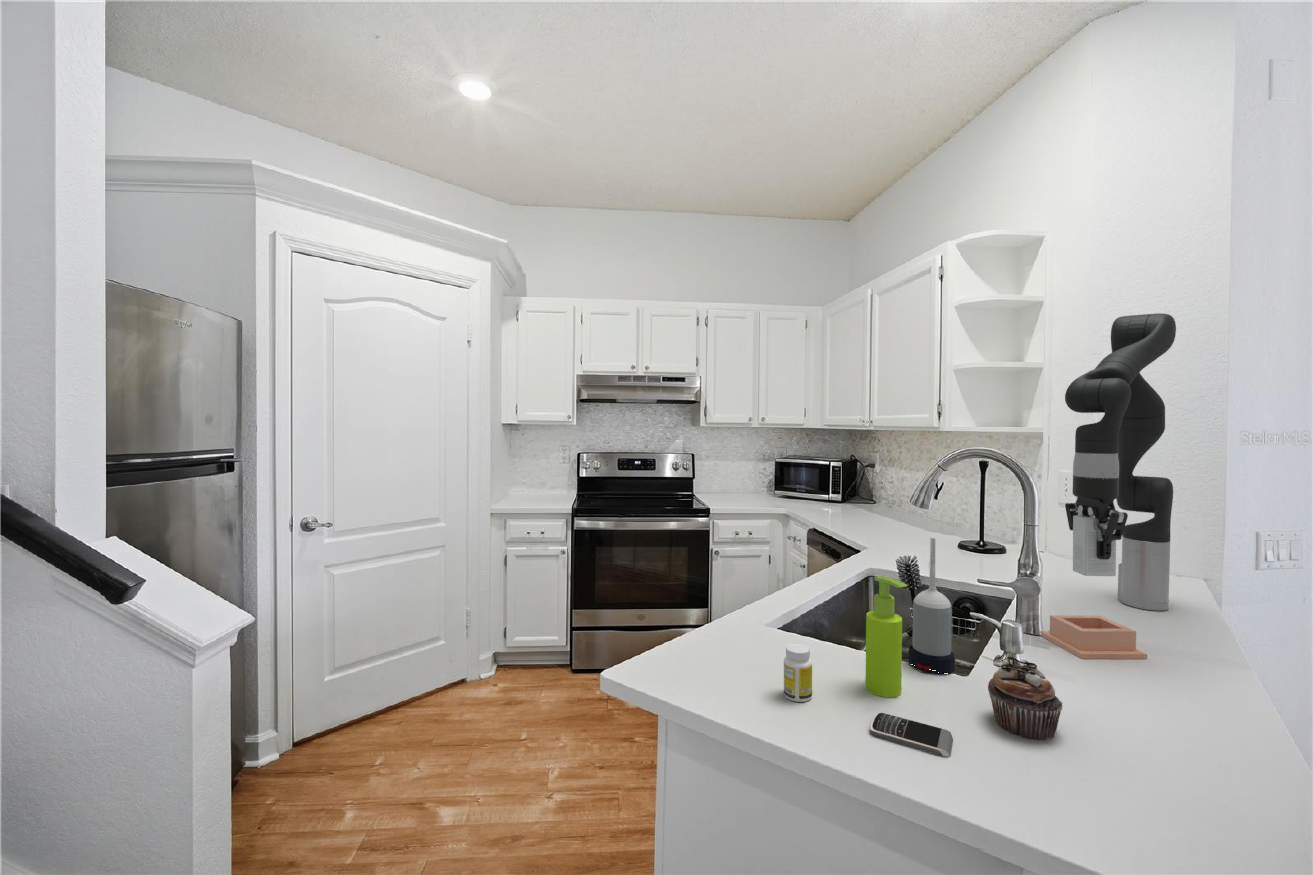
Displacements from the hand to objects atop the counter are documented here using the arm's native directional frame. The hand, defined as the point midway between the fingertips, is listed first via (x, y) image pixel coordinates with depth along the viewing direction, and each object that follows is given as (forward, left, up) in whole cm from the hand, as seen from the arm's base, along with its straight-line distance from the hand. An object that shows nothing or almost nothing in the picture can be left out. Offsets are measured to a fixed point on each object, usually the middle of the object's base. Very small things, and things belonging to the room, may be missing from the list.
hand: (1093, 555), depth 115 cm
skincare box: (0, 0, -4) cm, 4 cm away
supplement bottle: (+21, -67, -20) cm, 73 cm away
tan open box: (0, 0, -19) cm, 19 cm away
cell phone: (+33, -53, -20) cm, 66 cm away
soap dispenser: (+19, -51, -20) cm, 58 cm away
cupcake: (+30, -34, -20) cm, 49 cm away
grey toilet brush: (+9, -38, -20) cm, 44 cm away
